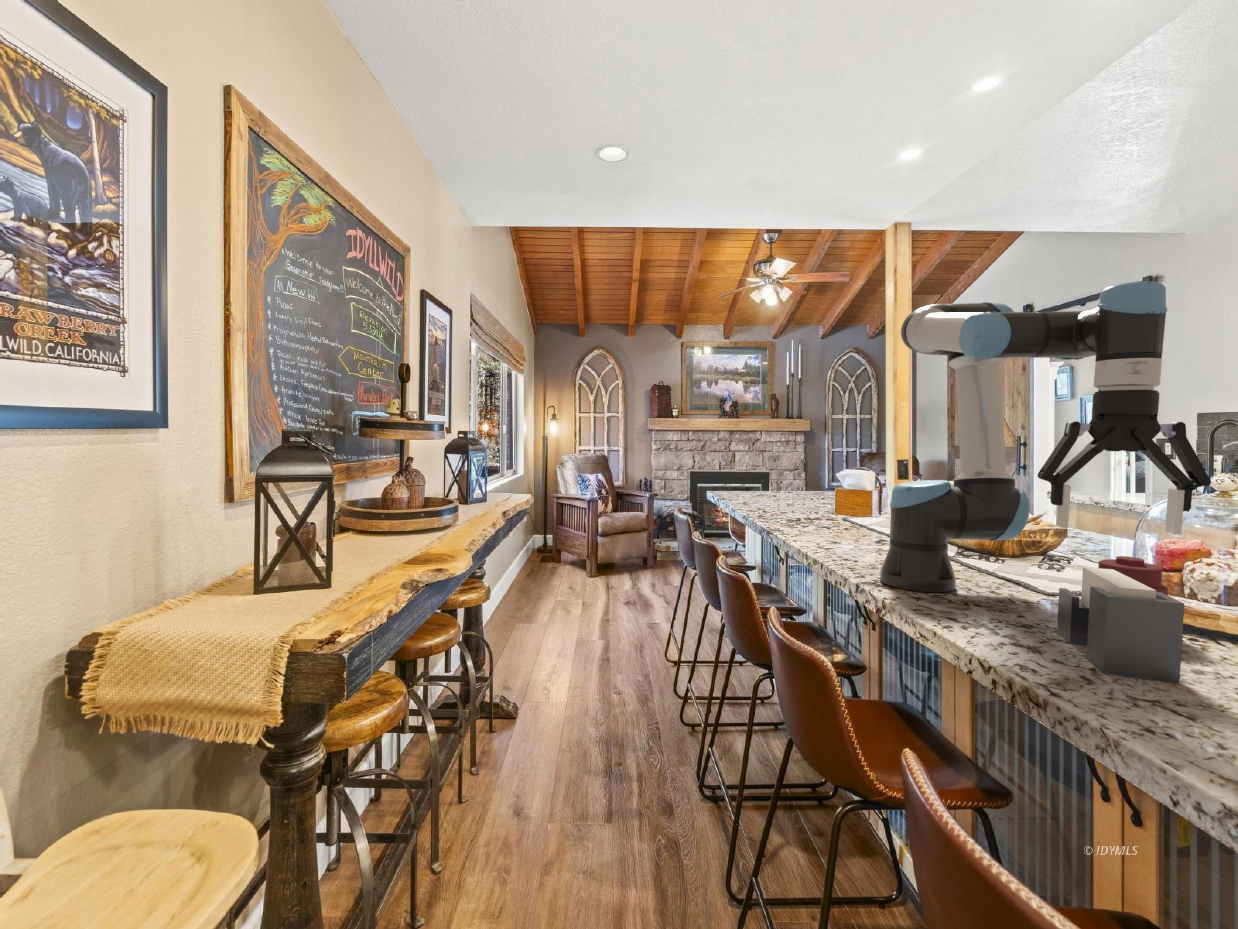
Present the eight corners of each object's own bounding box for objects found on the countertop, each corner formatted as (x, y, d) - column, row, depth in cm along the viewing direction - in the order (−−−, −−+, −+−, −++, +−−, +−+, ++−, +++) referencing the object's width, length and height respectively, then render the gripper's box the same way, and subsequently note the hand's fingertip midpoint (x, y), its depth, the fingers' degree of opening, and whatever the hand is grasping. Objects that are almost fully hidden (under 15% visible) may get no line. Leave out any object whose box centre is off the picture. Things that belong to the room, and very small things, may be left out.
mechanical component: (1139, 621, 105) (1180, 639, 96) (1077, 617, 107) (1111, 635, 98) (1143, 554, 105) (1185, 566, 95) (1080, 551, 107) (1115, 562, 97)
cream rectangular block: (1081, 603, 95) (1082, 567, 95) (1111, 606, 94) (1113, 569, 94) (1118, 629, 82) (1120, 587, 82) (1153, 633, 81) (1156, 590, 80)
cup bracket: (1086, 658, 87) (1090, 586, 86) (1157, 667, 84) (1161, 592, 83) (1103, 673, 81) (1107, 596, 81) (1179, 683, 78) (1184, 603, 78)
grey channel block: (1057, 631, 99) (1059, 587, 99) (1118, 638, 96) (1120, 593, 96) (1069, 643, 93) (1072, 596, 93) (1134, 650, 90) (1137, 602, 90)
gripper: (1034, 389, 88) (1026, 527, 89) (1252, 386, 79) (1239, 540, 80) (1020, 391, 95) (1013, 520, 96) (1219, 389, 86) (1208, 531, 87)
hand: (1115, 529), depth 88 cm, fingers open, 13 cm apart
